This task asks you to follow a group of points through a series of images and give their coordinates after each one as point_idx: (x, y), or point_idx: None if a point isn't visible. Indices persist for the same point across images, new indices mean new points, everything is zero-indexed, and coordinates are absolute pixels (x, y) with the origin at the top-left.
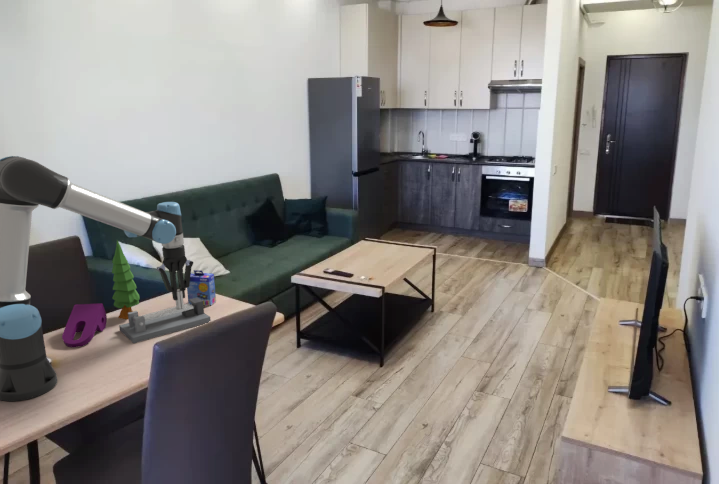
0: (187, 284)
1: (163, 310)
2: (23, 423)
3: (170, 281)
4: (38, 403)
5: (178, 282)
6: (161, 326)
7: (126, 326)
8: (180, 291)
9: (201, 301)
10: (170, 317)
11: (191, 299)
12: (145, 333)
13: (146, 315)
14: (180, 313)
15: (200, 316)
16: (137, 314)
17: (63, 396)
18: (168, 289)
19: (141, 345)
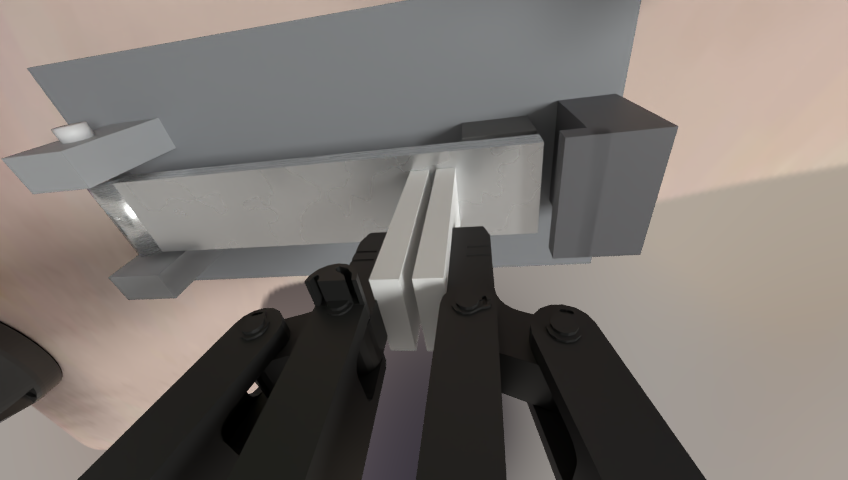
0: (556, 424)
1: (301, 181)
2: (83, 430)
3: (242, 455)
4: (69, 401)
5: (429, 400)
6: None
7: (93, 121)
8: (431, 349)
9: (622, 254)
10: (374, 131)
11: (585, 155)
12: (233, 269)
13: (182, 200)
14: (460, 92)
15: (549, 227)
16: (103, 179)
17: (110, 404)
18: (261, 406)
19: (238, 293)
